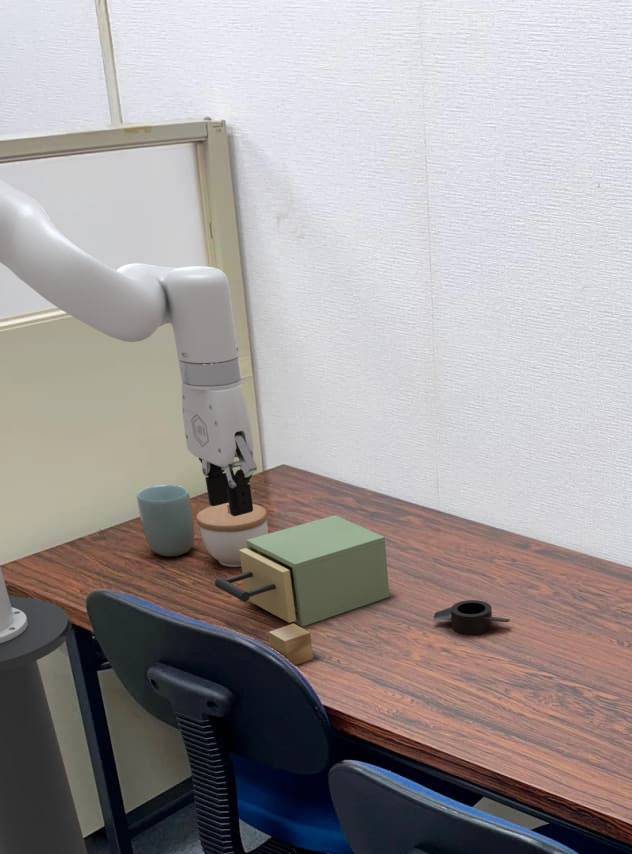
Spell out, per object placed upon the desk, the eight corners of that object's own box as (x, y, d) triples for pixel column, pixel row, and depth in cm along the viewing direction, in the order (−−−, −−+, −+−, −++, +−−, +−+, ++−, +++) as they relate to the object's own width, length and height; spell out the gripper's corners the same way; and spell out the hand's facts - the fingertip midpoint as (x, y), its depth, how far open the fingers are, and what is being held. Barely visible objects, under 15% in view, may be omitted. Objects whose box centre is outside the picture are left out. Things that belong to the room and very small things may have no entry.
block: (288, 668, 161) (284, 641, 158) (272, 658, 163) (268, 631, 161) (313, 658, 163) (310, 632, 161) (297, 649, 165) (293, 623, 163)
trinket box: (273, 545, 197) (265, 490, 192) (272, 570, 189) (264, 513, 184) (206, 549, 195) (196, 494, 190) (202, 574, 187) (192, 517, 182)
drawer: (254, 635, 167) (246, 583, 163) (211, 610, 173) (203, 559, 169) (371, 595, 179) (367, 546, 175) (327, 573, 186) (322, 525, 182)
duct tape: (467, 608, 178) (466, 590, 176) (515, 628, 172) (515, 610, 171) (429, 624, 173) (427, 606, 171) (477, 645, 167) (476, 626, 166)
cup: (171, 564, 190) (159, 504, 184) (137, 554, 193) (125, 494, 188) (208, 550, 195) (198, 490, 190) (175, 540, 199) (164, 481, 193)
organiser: (302, 626, 171) (294, 564, 166) (254, 600, 179) (245, 539, 174) (389, 596, 181) (384, 536, 176) (341, 573, 188) (334, 514, 183)
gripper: (151, 364, 156) (175, 499, 166) (219, 389, 146) (240, 531, 156) (202, 355, 160) (223, 487, 170) (272, 379, 150) (289, 518, 160)
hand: (231, 507), depth 163 cm, fingers open, 4 cm apart
